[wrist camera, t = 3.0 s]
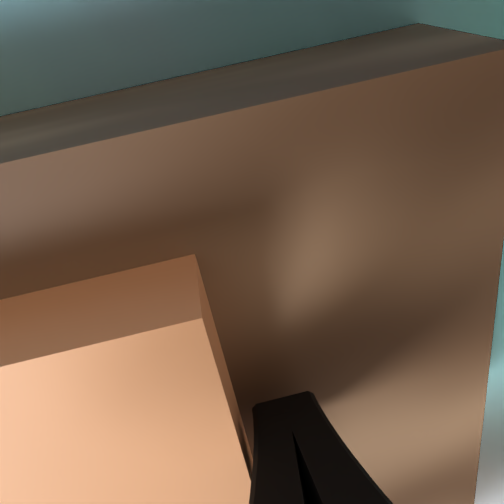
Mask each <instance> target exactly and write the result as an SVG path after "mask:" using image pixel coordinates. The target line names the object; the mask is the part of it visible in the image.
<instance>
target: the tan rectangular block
mask: <svg viewBox="0 0 504 504" xmlns="http://www.w3.org/2000/svg"><path fill="white" fill-rule="evenodd" d="M252 467H253V457H252V454H251V450H250V447H249V443H248V440H247V436H246V433H245V429H244V426H243V422H242V418H241V415H240V411H239V408H238V404H237V401H236V397H235V394H234V390H233V387H232V383H231V380H230V376H229V372H228V369H227V365H226V362H225V358H224V355H223V351H222V348H221V344H220V341H219V337H218V334H217V330H216V327H215V323H214V319H213V316H212V312H211V309H210V305H209V302H208V298H207V295H206V291H205V288H204V284H203V281H202V277H201V274H200V270H199V266H198V263H197V259H196V256H195V254H192V255H188V256H184V257H180V258H175V259H171V260H167V261H163V262H158V263H154V264H150V265H146V266H141V267H137V268H133V269H129V270H124V271H120V272H116V273H112V274H108V275H103V276H99V277H95V278H91V279H86V280H82V281H78V282H74V283H69V284H65V285H61V286H57V287H52V288H48V289H44V290H40V291H35V292H31V293H27V294H23V295H19V296H14V297H10V298H6V299H2V300H0V504H249V498H250V488H251V478H252Z"/></svg>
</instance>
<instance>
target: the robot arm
mask: <svg viewBox="0 0 504 504" xmlns="http://www.w3.org/2000/svg"><path fill="white" fill-rule="evenodd" d="M252 414H253V427H254V449H253V467H252V478H251V488H250V498H249V504H393V503H392V502H391V500H390V499H389V498H388V497H387V496H386V495H385V494H384V492H383V491H382V490H381V489H380V488H379V486H378V485H377V484H376V483H375V482H374V480H373V479H372V478H371V477H370V475H369V474H368V473H367V472H366V470H365V469H364V468H363V467H362V465H361V464H360V463H359V461H358V460H357V459H356V458H355V456H354V455H353V454H352V453H351V451H350V450H349V448H348V447H347V446H346V444H345V443H344V442H343V440H342V439H341V437H340V436H339V434H338V433H337V432H336V430H335V429H334V427H333V426H332V424H331V423H330V421H329V420H328V418H327V417H326V415H325V413H324V412H323V410H322V408H321V406H320V405H319V403H318V401H317V399H316V397H315V395H314V393H312V392H310V391H305V392H301V393H297V394H293V395H289V396H285V397H281V398H277V399H273V400H269V401H265V402H261V403H257V404H255V406H254V407H253V408H252Z"/></svg>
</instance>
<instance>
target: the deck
mask: <svg viewBox="0 0 504 504" xmlns="http://www.w3.org/2000/svg"><path fill="white" fill-rule="evenodd" d="M503 240H504V40H501V39H496V38H491V37H486V36H481V35H476V34H471V33H466V32H461V31H456V30H450V29H445V28H440V27H435V26H430V25H425V24H420V23H417V24H413V25H408V26H404V27H399V28H395V29H391V30H386V31H382V32H377V33H373V34H368V35H364V36H359V37H355V38H350V39H346V40H341V41H337V42H332V43H328V44H323V45H319V46H314V47H310V48H305V49H301V50H296V51H292V52H287V53H283V54H278V55H274V56H269V57H265V58H260V59H256V60H252V61H247V62H243V63H238V64H234V65H229V66H225V67H220V68H216V69H211V70H207V71H202V72H198V73H193V74H189V75H184V76H180V77H175V78H171V79H166V80H162V81H157V82H153V83H148V84H144V85H139V86H135V87H130V88H126V89H121V90H117V91H112V92H108V93H104V94H99V95H95V96H90V97H86V98H81V99H77V100H72V101H68V102H63V103H59V104H54V105H50V106H45V107H41V108H36V109H32V110H27V111H23V112H18V113H14V114H9V115H5V116H0V300H2V299H6V298H10V297H14V296H19V295H23V294H27V293H31V292H35V291H40V290H44V289H48V288H52V287H57V286H61V285H65V284H69V283H74V282H78V281H82V280H86V279H91V278H95V277H99V276H103V275H108V274H112V273H116V272H120V271H124V270H129V269H133V268H137V267H141V266H146V265H150V264H154V263H158V262H163V261H167V260H171V259H175V258H180V257H184V256H188V255H192V254H195V256H196V259H197V263H198V266H199V270H200V274H201V277H202V281H203V284H204V288H205V291H206V295H207V298H208V302H209V305H210V309H211V312H212V316H213V319H214V323H215V327H216V330H217V334H218V337H219V341H220V344H221V348H222V351H223V355H224V358H225V362H226V365H227V369H228V372H229V376H230V380H231V383H232V387H233V390H234V394H235V397H236V401H237V404H238V408H239V411H240V415H241V418H242V422H243V426H244V429H245V433H246V436H247V440H248V443H249V447H250V450H251V454H252V457H253V449H254V427H253V414H252V408H253V407H254V406H255V404H257V403H261V402H265V401H269V400H273V399H277V398H281V397H285V396H289V395H293V394H297V393H301V392H305V391H310V392H312V393H314V395H315V397H316V399H317V401H318V403H319V405H320V406H321V408H322V410H323V412H324V413H325V415H326V417H327V418H328V420H329V421H330V423H331V424H332V426H333V427H334V429H335V430H336V432H337V433H338V434H339V436H340V437H341V439H342V440H343V442H344V443H345V444H346V446H347V447H348V448H349V450H350V451H351V453H352V454H353V455H354V456H355V458H356V459H357V460H358V461H359V463H360V464H361V465H362V467H363V468H364V469H365V470H366V472H367V473H368V474H369V475H370V477H371V478H372V479H373V480H374V482H375V483H376V484H377V485H378V486H379V488H380V489H381V490H382V491H383V492H384V494H385V495H386V496H387V497H388V498H389V499H390V500H391V502H392V503H393V504H474V499H475V490H476V481H477V472H478V463H479V454H480V445H481V436H482V427H483V419H484V410H485V401H486V392H487V383H488V374H489V365H490V356H491V347H492V338H493V329H494V320H495V311H496V302H497V294H498V285H499V276H500V267H501V258H502V249H503Z"/></svg>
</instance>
